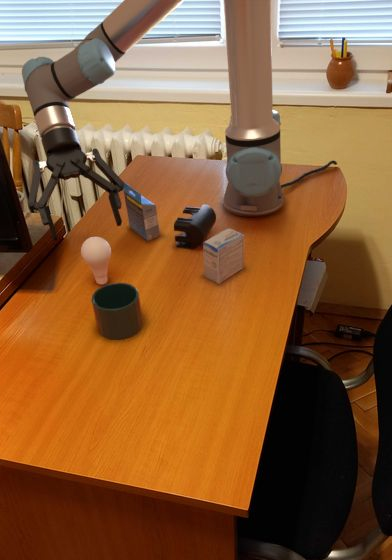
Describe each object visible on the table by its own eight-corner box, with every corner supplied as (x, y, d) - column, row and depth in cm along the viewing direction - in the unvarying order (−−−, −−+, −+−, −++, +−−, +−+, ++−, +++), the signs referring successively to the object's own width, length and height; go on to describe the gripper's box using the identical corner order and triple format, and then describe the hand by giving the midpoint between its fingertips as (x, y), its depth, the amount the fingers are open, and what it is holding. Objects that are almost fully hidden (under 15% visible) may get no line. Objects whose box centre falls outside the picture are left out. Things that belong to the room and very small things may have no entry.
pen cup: (135, 307, 111) (130, 278, 107) (148, 332, 105) (144, 302, 101) (93, 318, 109) (86, 289, 105) (104, 345, 103) (98, 315, 98)
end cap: (204, 252, 126) (202, 225, 121) (175, 248, 128) (172, 222, 123) (216, 231, 133) (216, 205, 128) (189, 227, 135) (187, 201, 130)
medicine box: (229, 262, 122) (228, 226, 116) (244, 269, 120) (244, 233, 114) (204, 277, 118) (202, 241, 112) (219, 285, 116) (218, 249, 110)
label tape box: (160, 236, 132) (155, 188, 124) (146, 242, 131) (140, 193, 122) (142, 223, 138) (136, 175, 130) (128, 228, 136) (121, 180, 128)
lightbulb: (84, 291, 117) (74, 245, 109) (93, 275, 121) (83, 230, 114) (112, 292, 116) (103, 247, 108) (120, 276, 120) (112, 231, 113)
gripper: (114, 132, 122) (142, 223, 121) (-1, 154, 116) (28, 250, 115) (117, 115, 115) (147, 211, 114) (-5, 137, 108) (26, 239, 108)
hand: (88, 231), depth 114 cm, fingers open, 13 cm apart
